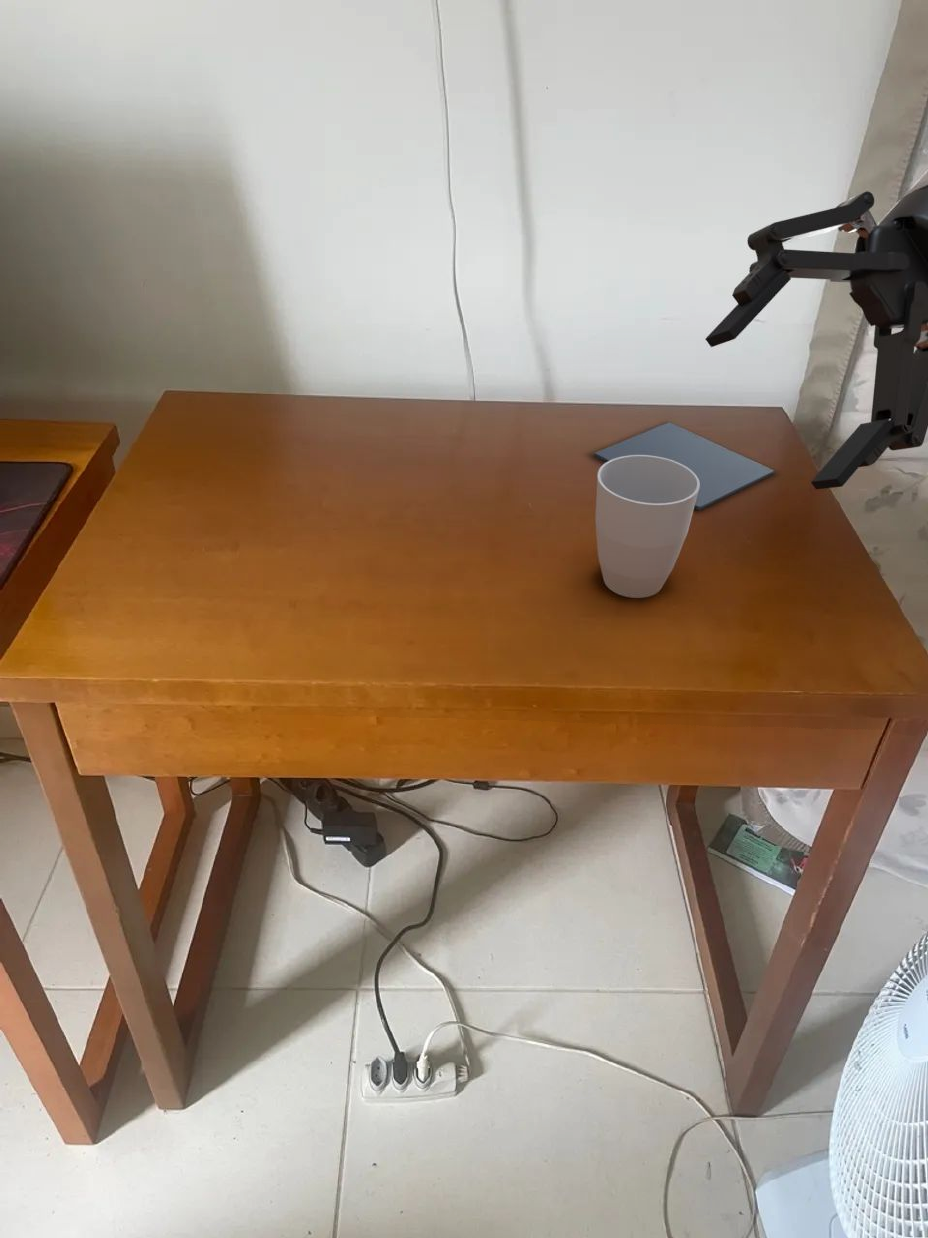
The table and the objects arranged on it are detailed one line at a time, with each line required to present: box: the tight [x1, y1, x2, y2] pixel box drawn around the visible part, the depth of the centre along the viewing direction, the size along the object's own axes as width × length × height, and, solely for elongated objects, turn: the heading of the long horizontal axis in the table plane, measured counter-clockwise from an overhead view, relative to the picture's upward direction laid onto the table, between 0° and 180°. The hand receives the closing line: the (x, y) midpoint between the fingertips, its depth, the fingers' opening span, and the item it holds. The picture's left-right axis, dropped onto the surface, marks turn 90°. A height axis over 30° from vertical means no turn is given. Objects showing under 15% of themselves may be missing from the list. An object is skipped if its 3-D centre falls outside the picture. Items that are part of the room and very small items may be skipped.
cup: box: [594, 455, 700, 599], centre depth 82 cm, size 8×8×10 cm
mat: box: [593, 422, 775, 511], centre depth 102 cm, size 14×12×1 cm
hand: (774, 414), depth 70 cm, fingers open, 13 cm apart
